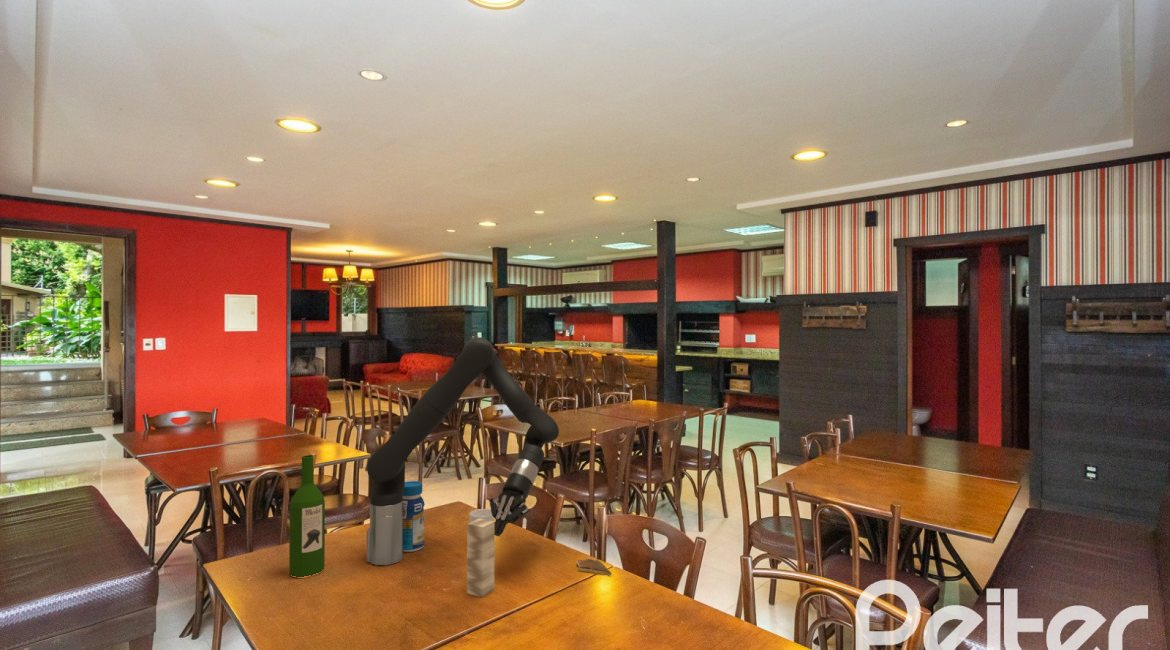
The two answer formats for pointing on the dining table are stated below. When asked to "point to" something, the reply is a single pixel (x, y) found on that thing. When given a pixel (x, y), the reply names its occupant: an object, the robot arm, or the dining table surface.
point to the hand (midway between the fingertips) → (495, 534)
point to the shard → (592, 567)
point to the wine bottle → (307, 525)
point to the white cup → (481, 515)
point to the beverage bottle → (413, 517)
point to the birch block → (480, 557)
